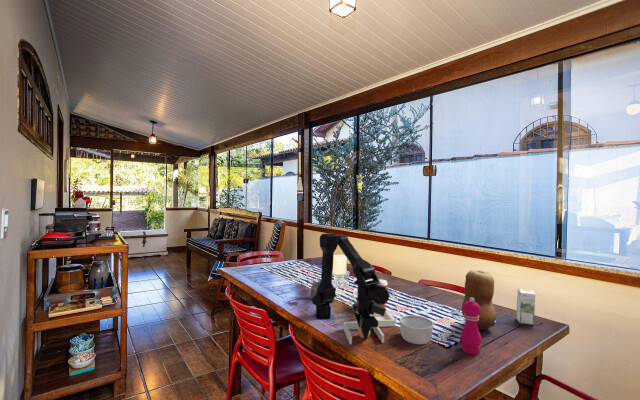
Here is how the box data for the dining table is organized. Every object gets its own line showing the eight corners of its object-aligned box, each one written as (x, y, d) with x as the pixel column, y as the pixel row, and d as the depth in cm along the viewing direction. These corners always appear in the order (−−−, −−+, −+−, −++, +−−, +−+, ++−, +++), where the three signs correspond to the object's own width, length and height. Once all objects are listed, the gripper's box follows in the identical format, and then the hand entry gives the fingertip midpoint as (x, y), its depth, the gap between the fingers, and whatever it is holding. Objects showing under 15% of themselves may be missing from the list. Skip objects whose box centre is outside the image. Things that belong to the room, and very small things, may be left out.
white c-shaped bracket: (349, 344, 122) (349, 336, 122) (343, 329, 136) (343, 322, 136) (384, 342, 124) (384, 335, 124) (374, 327, 137) (374, 321, 137)
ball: (359, 341, 125) (359, 328, 125) (356, 335, 130) (356, 323, 130) (371, 340, 126) (371, 328, 125) (368, 334, 131) (368, 322, 130)
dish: (371, 327, 138) (371, 321, 138) (364, 317, 149) (365, 311, 149) (394, 326, 139) (394, 320, 139) (386, 316, 150) (386, 311, 150)
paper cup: (387, 311, 156) (387, 283, 155) (371, 310, 157) (371, 282, 157) (387, 306, 163) (387, 279, 163) (372, 304, 165) (372, 278, 165)
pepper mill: (456, 346, 122) (457, 294, 121) (474, 345, 123) (475, 294, 122) (466, 355, 115) (468, 301, 114) (485, 355, 115) (487, 300, 115)
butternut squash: (502, 334, 133) (504, 274, 132) (473, 336, 131) (475, 275, 130) (480, 320, 147) (482, 266, 146) (454, 322, 144) (455, 267, 144)
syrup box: (530, 320, 147) (531, 289, 147) (534, 325, 142) (535, 293, 141) (516, 318, 149) (517, 288, 149) (519, 323, 144) (520, 292, 143)
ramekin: (428, 349, 119) (429, 331, 119) (394, 340, 126) (395, 323, 126) (436, 336, 130) (436, 319, 130) (404, 328, 137) (405, 312, 137)
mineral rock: (337, 299, 173) (338, 281, 172) (325, 304, 165) (325, 285, 164) (319, 294, 181) (320, 276, 181) (306, 299, 173) (307, 280, 173)
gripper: (391, 304, 119) (391, 345, 119) (377, 289, 138) (376, 324, 138) (362, 305, 118) (362, 347, 118) (352, 289, 136) (351, 325, 137)
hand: (363, 335), depth 128 cm, fingers closed on ball, 5 cm apart
